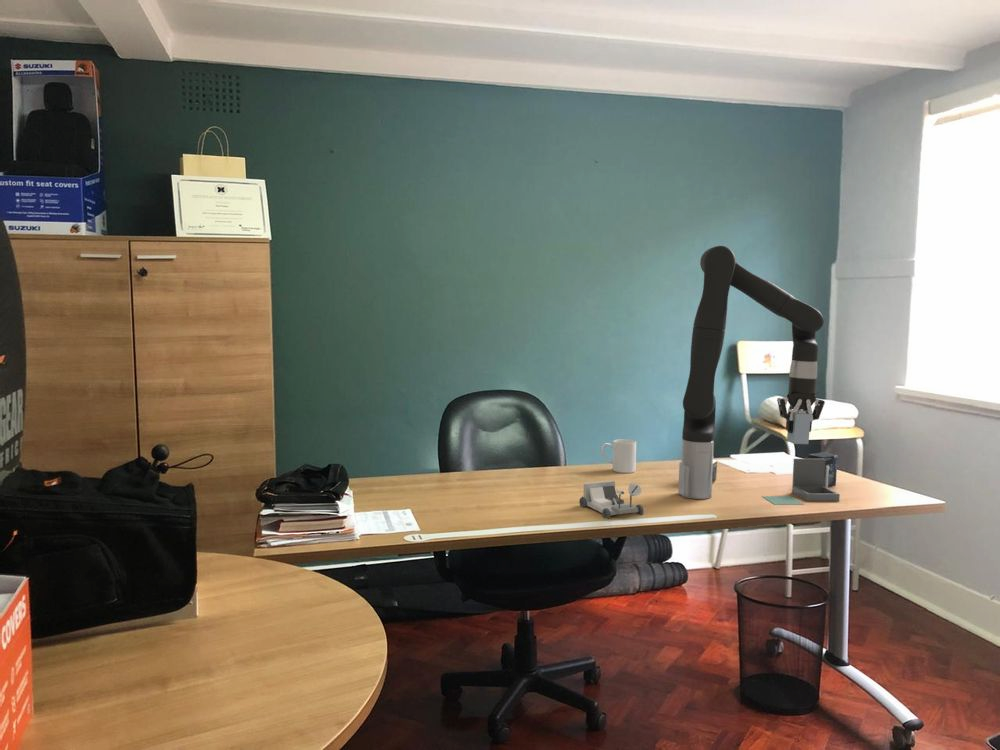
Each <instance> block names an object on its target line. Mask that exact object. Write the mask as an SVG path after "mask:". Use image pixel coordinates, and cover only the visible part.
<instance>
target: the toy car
mask: <svg viewBox="0 0 1000 750" xmlns="http://www.w3.org/2000/svg"><path fill="white" fill-rule="evenodd" d="M627 492H628V494H629V495H630V496H629V503H627V502H626V501H625V499H622V498H621V497H622V496H621V495H624V494H625V492H624V490H623V489H621V488H617V489H616V481H615V480H604V481H595V482H585V483H583V497H580V498H579V506H580V507H582V508H587V507H589V508H591V509H592V510H593V509H594V510H595V511H598V512H599V513H601V514H602V517H603V518H605V519H606V520H609V519H611V516H617V515H624V514H632V513H636V514H637V515H639V516H640V515H641V516H642V515H644V512H645V511H644V507H643V505H642V504H636V505H632V500H633V497H637V496H640V495H641V494H642V492H643V490H642V487H641V485H639V484H638V483H636V482H629V484H628V486H627Z"/></svg>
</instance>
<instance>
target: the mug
mask: <svg viewBox="0 0 1000 750" xmlns="http://www.w3.org/2000/svg"><path fill="white" fill-rule="evenodd" d="M612 442H613V443H610V442H605V443H603V444H601V445H602V446H601V454H602V456H603V458H604V459H605V460H606V461H607V462H609V463H610V464H612V471H614V472H615V473H622V474H631V473H635V472H636V469H637V466H636V463H637V461H636V460H637V441H636V440H633V439H627V438H623V439H621V438H620V439H613V441H612ZM605 446H610V447H612V460H610V459H609V458H608V457H607V456H606V454H605V452H604V447H605Z"/></svg>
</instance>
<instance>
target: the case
mask: <svg viewBox="0 0 1000 750" xmlns="http://www.w3.org/2000/svg"><path fill="white" fill-rule="evenodd" d="M792 466H793V467H792V486H791V487H792V488H791V493H792V494H794V495H796V496H798V497H800V498H801V499H803V500H805V501H807V502H840V497H841V496H840V493H838V492H836V491H834V490H832V489H830V488H829V487H828V473H829V466H826V476H825V487H824V474H825V459H808V458H793V465H792Z"/></svg>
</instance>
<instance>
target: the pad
mask: <svg viewBox="0 0 1000 750" xmlns="http://www.w3.org/2000/svg"><path fill="white" fill-rule="evenodd" d="M761 497H762V498H763V499H765V500H766V501H768V502H769V503H771V504H773V505H774V506H775V505H777V506H778V505H782V506H783V505H784V506H785V505H786V506H787V505H788V506H789V505H793V506H794V505H796V506H797V505H800V506H802V505H805V503H803V502H801V501H800V500H799V499H797V498H794V496H791V495H781V496H780V495H779V496H778V495H771V496H770V495H769V496H768V495H762V496H761Z"/></svg>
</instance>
